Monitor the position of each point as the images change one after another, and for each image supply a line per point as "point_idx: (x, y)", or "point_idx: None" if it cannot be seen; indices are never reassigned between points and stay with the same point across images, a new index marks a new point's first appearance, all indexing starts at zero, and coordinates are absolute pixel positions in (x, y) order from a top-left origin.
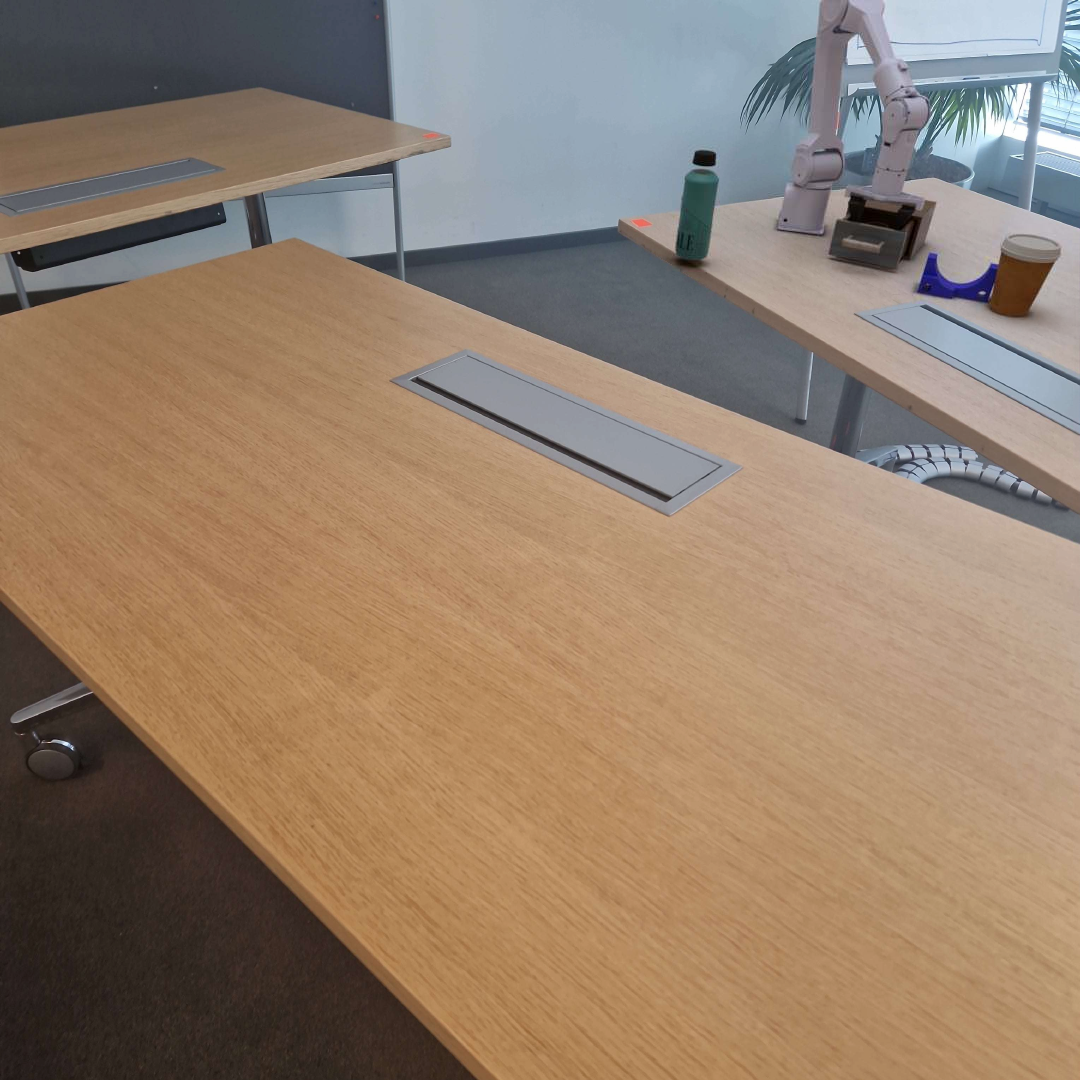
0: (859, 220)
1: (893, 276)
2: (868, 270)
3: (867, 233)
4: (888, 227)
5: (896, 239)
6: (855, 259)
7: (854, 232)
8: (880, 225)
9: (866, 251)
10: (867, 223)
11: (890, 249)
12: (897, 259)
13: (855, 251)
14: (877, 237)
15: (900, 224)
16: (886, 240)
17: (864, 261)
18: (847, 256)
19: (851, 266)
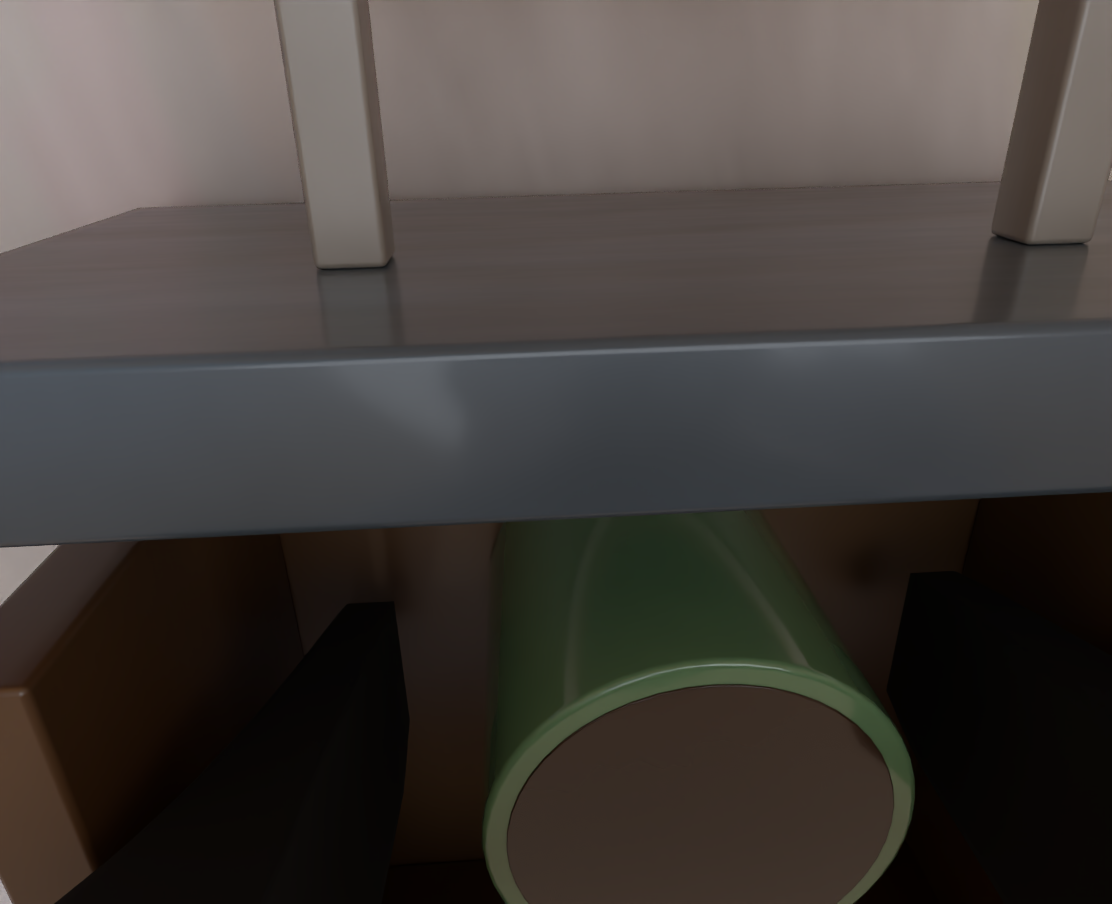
0: (1040, 862)
1: (115, 59)
2: (482, 78)
3: (778, 276)
4: (487, 869)
5: (19, 311)
6: (725, 191)
7: (1068, 265)
8: (640, 862)
9: (623, 214)
10: (881, 824)
11: (198, 252)
12: (87, 229)
13: (789, 207)
14: (505, 273)
15: (127, 882)
16: (283, 285)
17: (594, 194)
18: (851, 188)
19: (723, 86)
